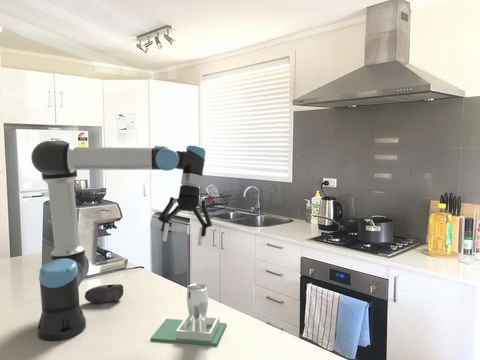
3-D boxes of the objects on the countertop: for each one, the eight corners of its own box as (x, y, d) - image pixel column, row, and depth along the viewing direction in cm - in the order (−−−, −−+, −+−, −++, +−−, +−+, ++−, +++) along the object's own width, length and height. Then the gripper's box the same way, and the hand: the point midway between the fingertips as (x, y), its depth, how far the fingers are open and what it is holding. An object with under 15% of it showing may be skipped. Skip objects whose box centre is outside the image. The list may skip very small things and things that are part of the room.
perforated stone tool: (82, 305, 155) (81, 288, 155) (87, 300, 161) (86, 283, 160) (121, 304, 156) (120, 287, 156) (124, 298, 161) (123, 282, 161)
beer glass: (199, 323, 137) (197, 281, 135) (213, 330, 132) (212, 286, 130) (183, 331, 131) (182, 287, 130) (197, 338, 127) (196, 293, 125)
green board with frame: (150, 340, 127) (150, 330, 127) (166, 320, 141) (166, 311, 141) (216, 346, 123) (216, 335, 123) (226, 325, 137) (226, 316, 137)
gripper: (224, 191, 149) (216, 247, 145) (163, 185, 155) (154, 239, 150) (220, 187, 142) (211, 246, 138) (155, 181, 147) (145, 238, 143)
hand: (181, 243), depth 144 cm, fingers open, 13 cm apart
